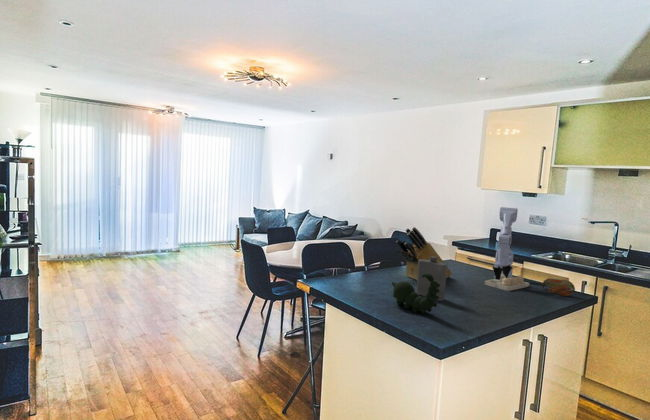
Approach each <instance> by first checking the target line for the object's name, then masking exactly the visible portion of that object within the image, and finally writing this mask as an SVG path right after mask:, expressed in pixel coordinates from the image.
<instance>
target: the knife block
mask: <svg viewBox="0 0 650 420" xmlns="http://www.w3.org/2000/svg"><path fill="white" fill-rule="evenodd" d="M405 233H406V235H407V237H408V238H409V239H410V241H411V242H412V243H413V245H412V244H411V243H410V242H409V241H408V242H406V241H404V240H402V241H400V240H399V239H397V240H396V241H395V242H396V244H398V246H399V247H400V249H401V250H400V249H396V253H398V254H399V255H400V256H401V257H402V259H404V260H405V261H406V273H405V276H406V277H408V278H411V279H413V280H416V281H417V274H418V260H420V259H425V260H430V257H437V261H436V262H441V263H444V264H446V263H445V261H444V260H443V259H442V258H441V256H440V255H439V254H438V253H437V251H436V249H434V248H435V247H433V246H432V244H431V243H430V242H428V241H427V240H426V239H425V237H424V236H423V235H422V233H421V232H420V231H419V230H418V228H416V227H415V226H413V227H412V229H409V228H406V230H405ZM451 275H453V273H452V272H451V270H450V269H449V267H448V266H447V272H446V279H447V278H450V277H451Z"/></svg>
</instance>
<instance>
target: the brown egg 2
mask: <svg viewBox="0 0 650 420" xmlns="http://www.w3.org/2000/svg"><path fill="white" fill-rule="evenodd" d="M515 278H516V279H517V283H520V284H523V283H524V282H525V281H524V280H525V279H524V277H523V276H522V275H516V276H515Z"/></svg>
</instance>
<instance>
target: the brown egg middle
mask: <svg viewBox="0 0 650 420" xmlns="http://www.w3.org/2000/svg"><path fill="white" fill-rule="evenodd" d="M509 279H510V281H511V284H512V285H517V279H516V276H512V277H510V278H509Z"/></svg>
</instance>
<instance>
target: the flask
mask: <svg viewBox="0 0 650 420" xmlns="http://www.w3.org/2000/svg"><path fill="white" fill-rule="evenodd" d="M436 261H437V257H430V260H425V259H420V260H418V274H417V280H416V288H415V289H416V290H415V292H416V293H417V294H418V295H419V296H420V295H421V296H420V297H424V298H425V297H426V294H427V292H428V288H429V287H430V283H431V282H430V281H428V279H427V278H426V277H423V278H422V275H423V274H425V273H428V274H431V275H432V276H433V278H434V280H433V281H436V282H437V283H438V284H440V287H438V288H437V289H439V290H440V291H439V293H437V294H436V296H438V297H439V299H435V301H439V302H442V301H445V298H446V297H445V295H446V284H447V283H446V282H447V278H446V272H447V267H448V265H447V264H446V263H445V262H444V263H445V264H444V263H441V262H436Z"/></svg>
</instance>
